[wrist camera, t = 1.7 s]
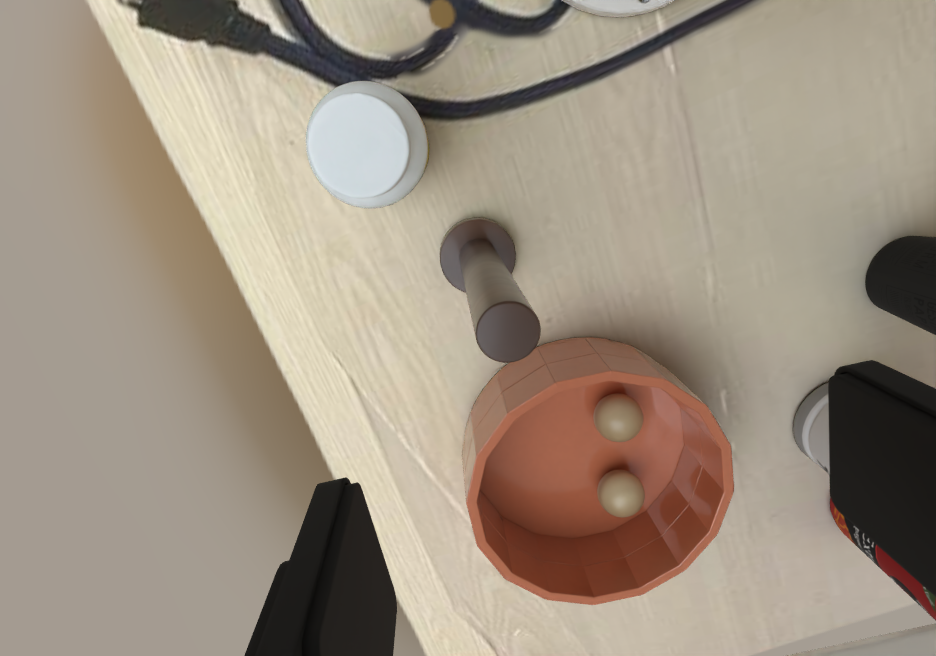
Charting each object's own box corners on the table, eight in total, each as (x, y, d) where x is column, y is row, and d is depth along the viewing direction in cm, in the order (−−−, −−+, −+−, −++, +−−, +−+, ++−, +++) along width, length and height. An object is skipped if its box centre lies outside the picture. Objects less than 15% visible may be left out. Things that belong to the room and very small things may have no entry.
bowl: (441, 364, 35) (442, 406, 29) (677, 314, 34) (725, 345, 29) (487, 557, 39) (496, 626, 34) (695, 513, 39) (740, 574, 33)
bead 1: (584, 391, 35) (598, 412, 32) (630, 381, 35) (648, 401, 32) (591, 432, 36) (604, 456, 33) (636, 422, 36) (653, 445, 33)
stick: (432, 226, 32) (429, 284, 18) (506, 210, 32) (562, 255, 18) (448, 297, 33) (458, 405, 19) (519, 282, 33) (581, 378, 19)
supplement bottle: (354, 78, 29) (317, 43, 20) (445, 122, 30) (449, 109, 21) (319, 172, 31) (269, 180, 22) (407, 213, 32) (396, 236, 22)
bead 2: (588, 466, 37) (601, 492, 34) (632, 456, 37) (649, 482, 34) (594, 503, 38) (607, 531, 35) (637, 494, 38) (654, 522, 35)
